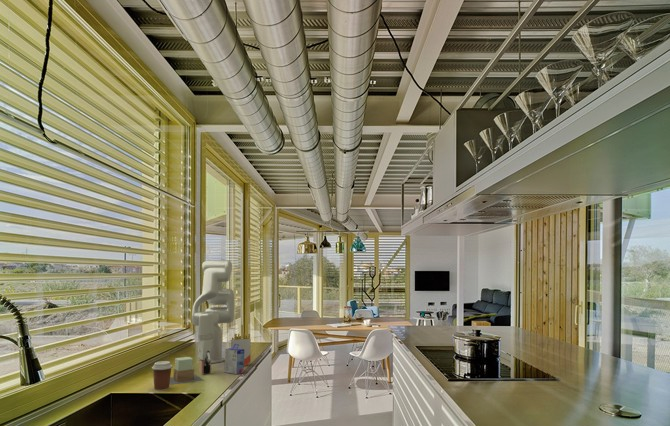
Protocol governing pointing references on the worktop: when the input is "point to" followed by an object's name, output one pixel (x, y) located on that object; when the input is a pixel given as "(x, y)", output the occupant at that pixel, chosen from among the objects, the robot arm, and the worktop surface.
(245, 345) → the french fries container
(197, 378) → the mat
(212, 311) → the robot arm
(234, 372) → the ink cartridge box
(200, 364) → the block pick
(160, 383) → the coffee cup
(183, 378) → the block bottom
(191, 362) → the block top
